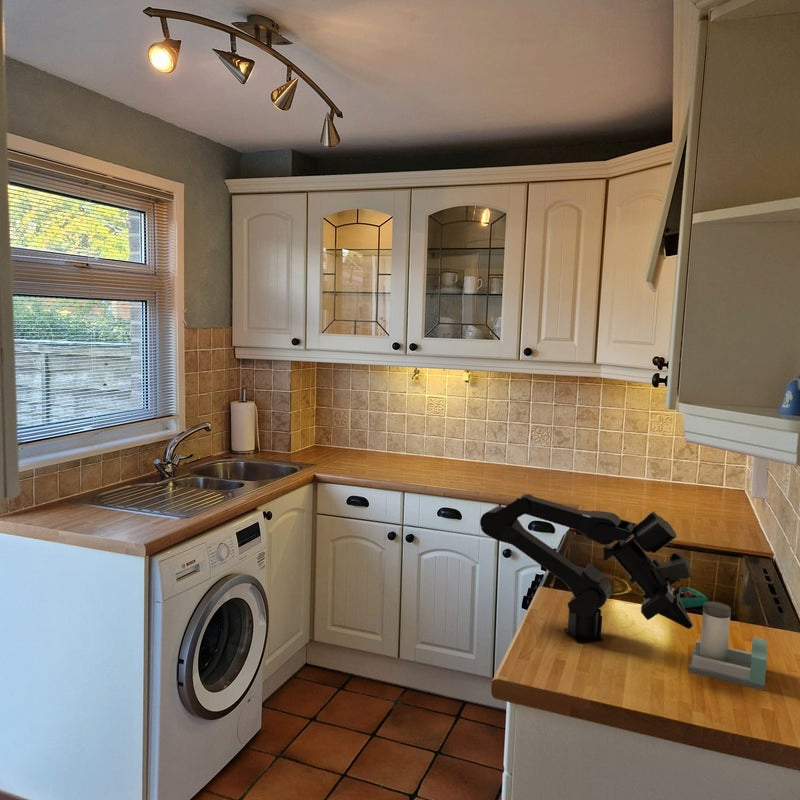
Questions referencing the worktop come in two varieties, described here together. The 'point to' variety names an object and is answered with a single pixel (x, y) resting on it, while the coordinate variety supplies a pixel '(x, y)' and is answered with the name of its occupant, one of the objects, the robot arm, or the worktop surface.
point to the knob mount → (734, 665)
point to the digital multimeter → (691, 598)
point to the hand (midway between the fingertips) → (690, 627)
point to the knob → (715, 631)
